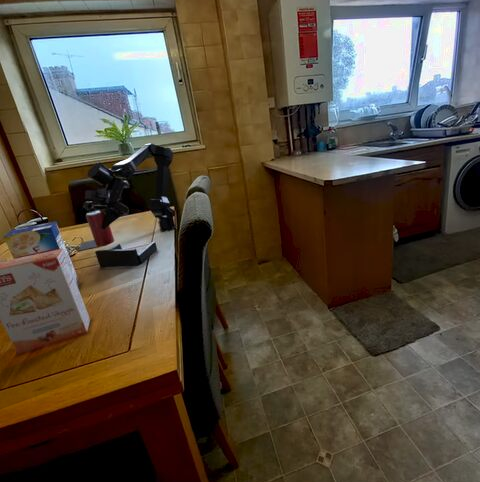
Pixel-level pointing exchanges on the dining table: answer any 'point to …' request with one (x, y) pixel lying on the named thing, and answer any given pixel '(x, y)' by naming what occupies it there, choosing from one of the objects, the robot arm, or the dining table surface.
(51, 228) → the blue white cardboard box
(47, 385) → the dining table surface
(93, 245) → the mat
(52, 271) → the cracker box
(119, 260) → the compartment
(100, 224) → the can
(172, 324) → the dining table surface
